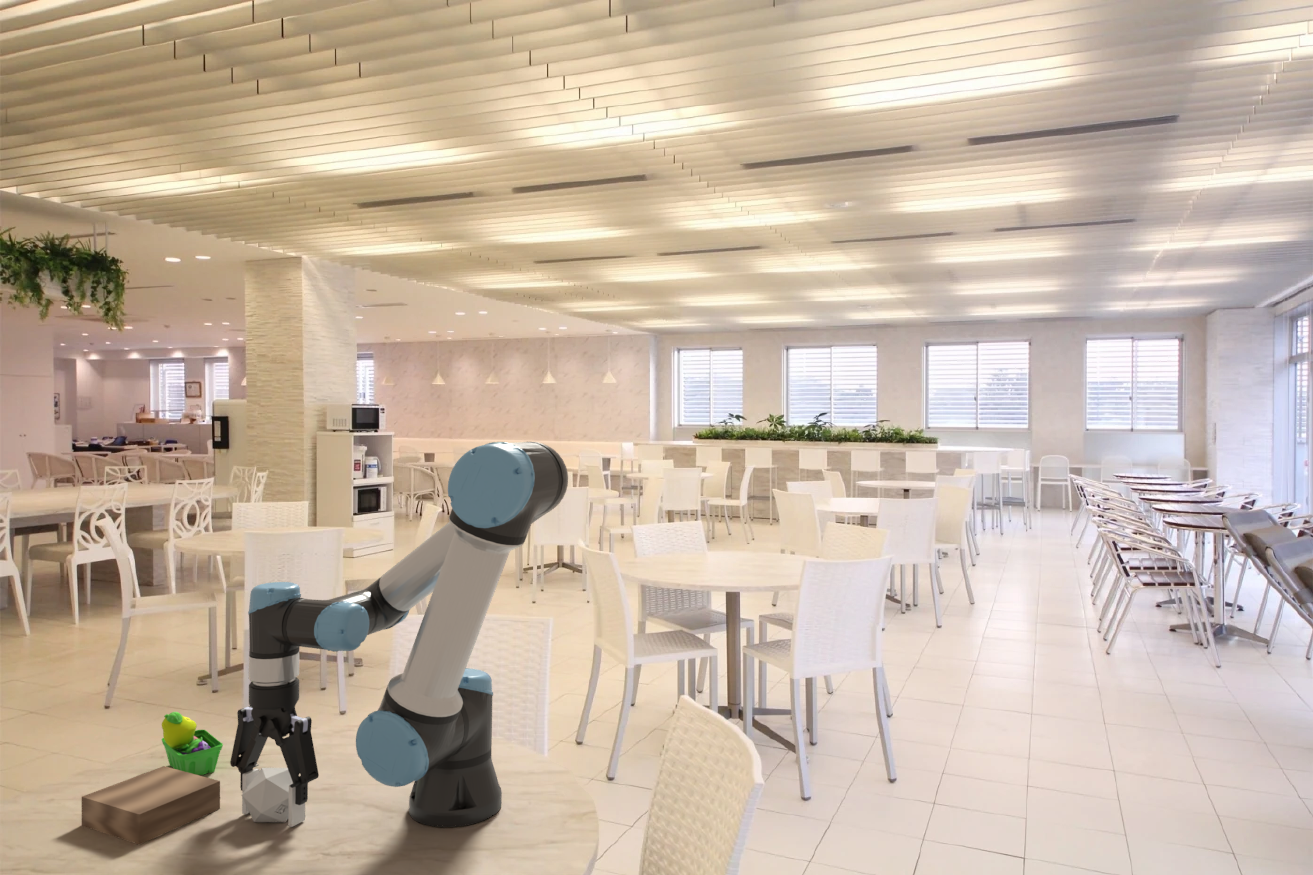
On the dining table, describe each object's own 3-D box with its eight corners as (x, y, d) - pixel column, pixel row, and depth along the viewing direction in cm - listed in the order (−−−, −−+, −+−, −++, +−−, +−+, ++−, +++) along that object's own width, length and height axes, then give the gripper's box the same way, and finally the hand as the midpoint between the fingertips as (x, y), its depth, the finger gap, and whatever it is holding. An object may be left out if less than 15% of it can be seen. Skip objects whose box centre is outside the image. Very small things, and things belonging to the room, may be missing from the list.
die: (264, 839, 137) (304, 783, 140) (221, 808, 139) (262, 752, 142) (284, 835, 145) (322, 782, 148) (243, 805, 147) (282, 753, 149)
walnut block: (219, 810, 147) (220, 781, 147) (139, 847, 134) (139, 814, 134) (163, 794, 153) (163, 766, 153) (81, 828, 140) (81, 796, 140)
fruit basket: (224, 772, 162) (225, 710, 162) (171, 785, 156) (171, 721, 156) (203, 754, 170) (204, 696, 170) (152, 767, 164) (152, 706, 164)
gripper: (343, 682, 142) (342, 820, 142) (244, 665, 151) (243, 795, 151) (308, 695, 135) (306, 840, 136) (205, 676, 144) (205, 812, 145)
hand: (273, 816), depth 143 cm, fingers closed on die, 9 cm apart
